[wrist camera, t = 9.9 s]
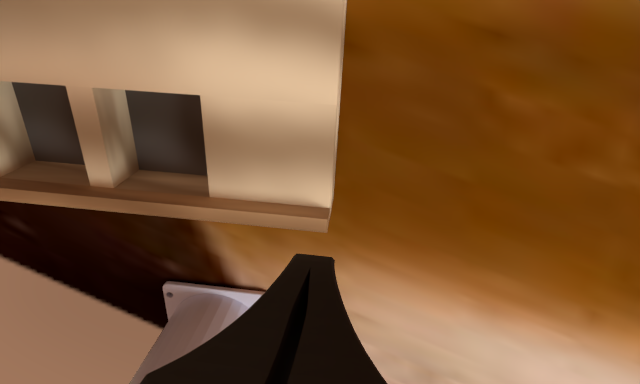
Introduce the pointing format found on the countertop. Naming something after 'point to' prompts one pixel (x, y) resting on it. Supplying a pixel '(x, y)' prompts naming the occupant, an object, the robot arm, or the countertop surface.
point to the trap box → (173, 107)
